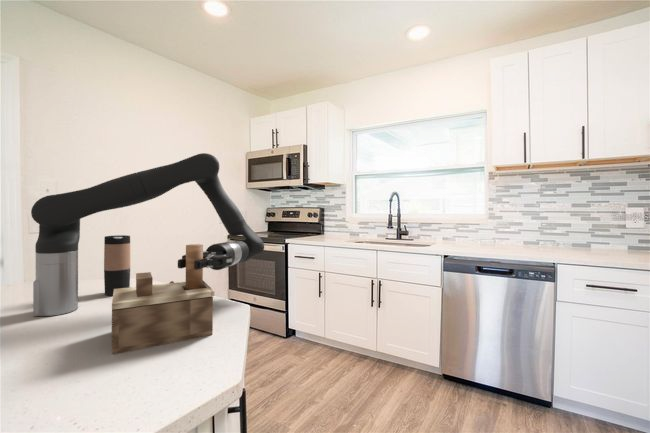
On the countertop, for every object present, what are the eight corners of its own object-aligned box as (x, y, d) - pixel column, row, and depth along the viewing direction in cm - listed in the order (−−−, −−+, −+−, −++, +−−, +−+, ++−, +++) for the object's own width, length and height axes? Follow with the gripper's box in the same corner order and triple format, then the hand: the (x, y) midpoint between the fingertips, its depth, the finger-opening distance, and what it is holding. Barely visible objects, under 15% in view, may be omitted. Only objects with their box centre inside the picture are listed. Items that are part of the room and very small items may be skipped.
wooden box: (111, 354, 63) (111, 311, 63) (113, 331, 75) (113, 294, 75) (212, 334, 74) (212, 297, 74) (200, 317, 86) (200, 284, 86)
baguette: (186, 295, 75) (187, 246, 75) (184, 291, 79) (184, 244, 79) (204, 293, 78) (204, 245, 77) (200, 289, 81) (201, 244, 81)
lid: (111, 309, 63) (111, 284, 63) (113, 293, 75) (114, 272, 75) (214, 296, 74) (214, 274, 74) (202, 284, 86) (202, 265, 86)
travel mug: (116, 289, 112) (116, 235, 112) (135, 291, 111) (135, 235, 111) (98, 295, 105) (98, 236, 104) (118, 296, 103) (118, 237, 103)
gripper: (203, 241, 93) (162, 248, 77) (246, 243, 91) (213, 250, 74) (202, 266, 94) (161, 278, 77) (246, 268, 91) (213, 282, 74)
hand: (187, 264), depth 75 cm, fingers closed on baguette, 4 cm apart
